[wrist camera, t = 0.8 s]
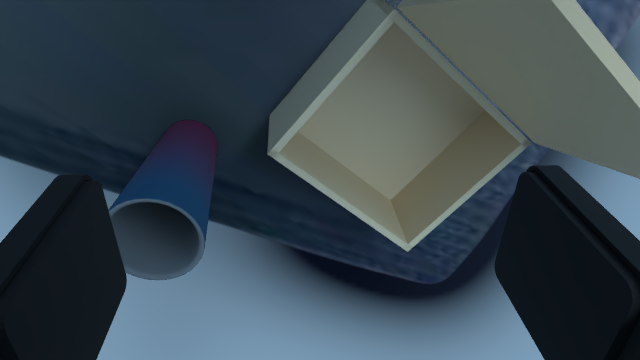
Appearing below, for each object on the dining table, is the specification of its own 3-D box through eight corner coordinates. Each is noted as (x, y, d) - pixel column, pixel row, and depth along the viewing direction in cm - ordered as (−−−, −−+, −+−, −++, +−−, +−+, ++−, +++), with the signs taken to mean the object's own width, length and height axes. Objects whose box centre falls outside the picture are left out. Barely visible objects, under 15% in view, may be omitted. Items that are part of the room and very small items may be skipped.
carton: (373, -8, 37) (394, 8, 30) (491, 107, 43) (531, 143, 36) (269, 115, 42) (267, 154, 35) (389, 203, 48) (407, 251, 41)
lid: (396, 7, 30) (405, -4, 30) (534, 143, 36) (541, 134, 36) (543, -10, 17) (558, -28, 17) (719, 205, 23) (731, 193, 23)
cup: (183, 186, 45) (145, 294, 32) (138, 132, 42) (74, 228, 29) (241, 155, 44) (224, 254, 31) (198, 97, 41) (160, 181, 28)
